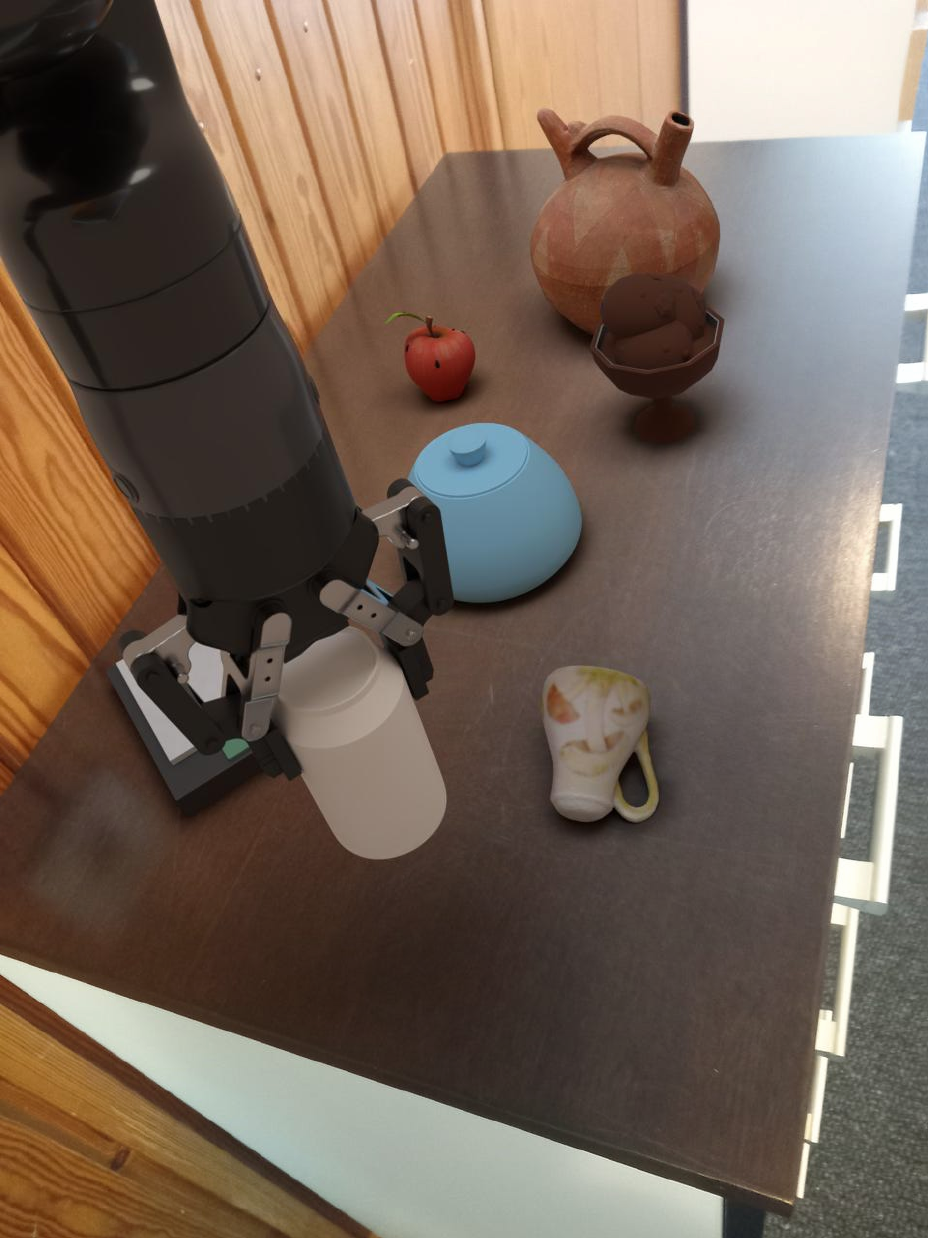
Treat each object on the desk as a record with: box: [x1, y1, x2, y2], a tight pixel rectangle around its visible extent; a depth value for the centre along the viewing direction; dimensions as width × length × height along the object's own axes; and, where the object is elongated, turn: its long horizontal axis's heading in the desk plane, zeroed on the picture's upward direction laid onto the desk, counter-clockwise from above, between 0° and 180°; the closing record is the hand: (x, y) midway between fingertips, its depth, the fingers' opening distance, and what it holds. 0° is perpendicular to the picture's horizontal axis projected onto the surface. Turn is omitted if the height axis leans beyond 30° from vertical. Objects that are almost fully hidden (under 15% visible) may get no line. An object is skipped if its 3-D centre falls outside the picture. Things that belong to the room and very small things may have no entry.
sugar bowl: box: [406, 422, 583, 604], centre depth 81 cm, size 15×15×12 cm
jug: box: [529, 107, 721, 337], centre depth 98 cm, size 18×18×20 cm
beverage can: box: [270, 625, 448, 860], centre depth 49 cm, size 6×6×12 cm
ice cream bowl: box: [589, 273, 725, 445], centre depth 86 cm, size 11×11×15 cm
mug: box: [540, 665, 660, 824], centre depth 67 cm, size 8×10×10 cm
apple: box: [381, 311, 477, 403], centre depth 99 cm, size 8×7×10 cm
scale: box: [105, 642, 271, 819], centre depth 79 cm, size 15×16×3 cm
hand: (350, 725), depth 48 cm, fingers closed on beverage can, 6 cm apart
